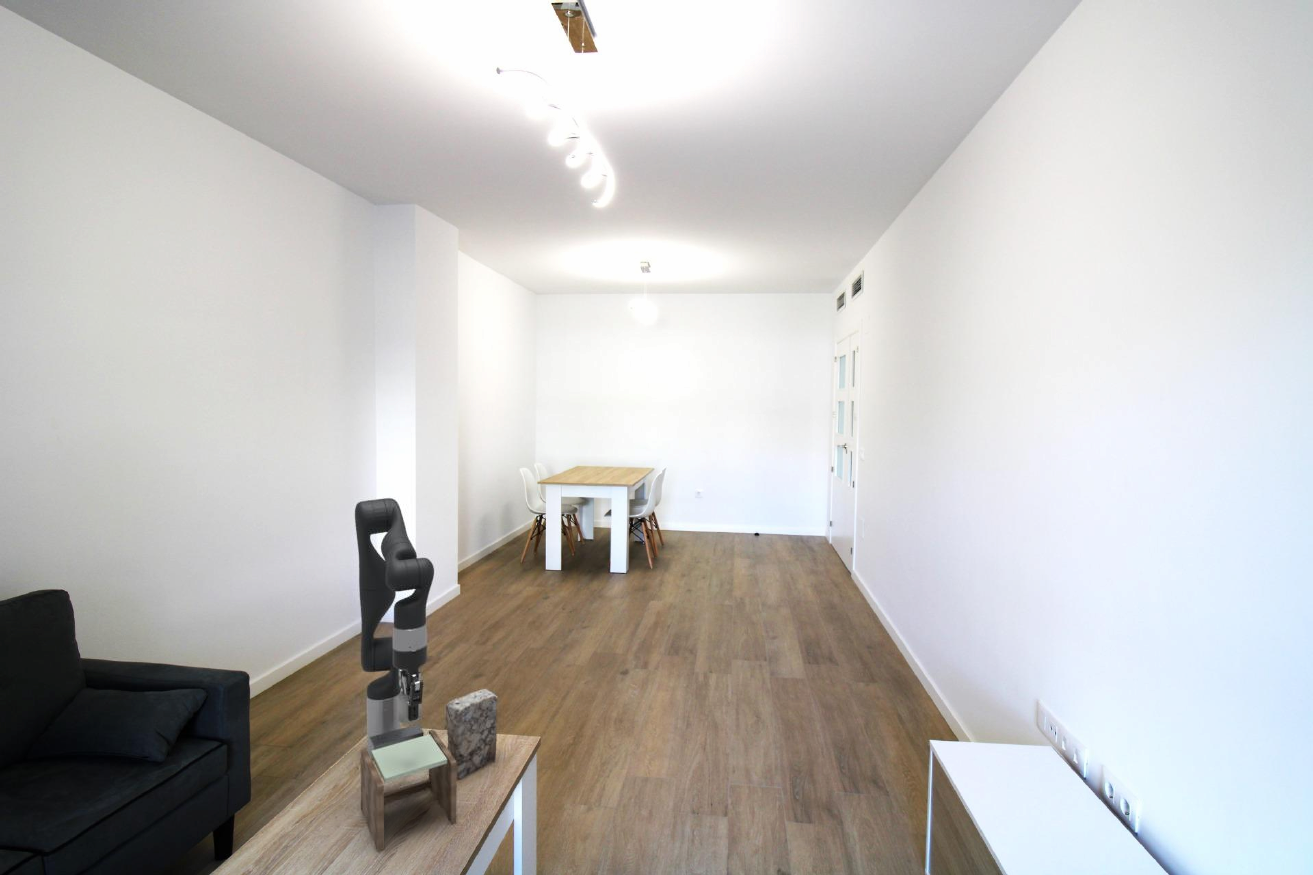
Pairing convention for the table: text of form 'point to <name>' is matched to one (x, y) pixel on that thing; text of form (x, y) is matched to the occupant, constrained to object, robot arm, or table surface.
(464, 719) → the stone block
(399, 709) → the smooth gray cylinder
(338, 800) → the table surface
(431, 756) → the trapdoor
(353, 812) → the table surface
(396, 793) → the stand
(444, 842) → the table surface
